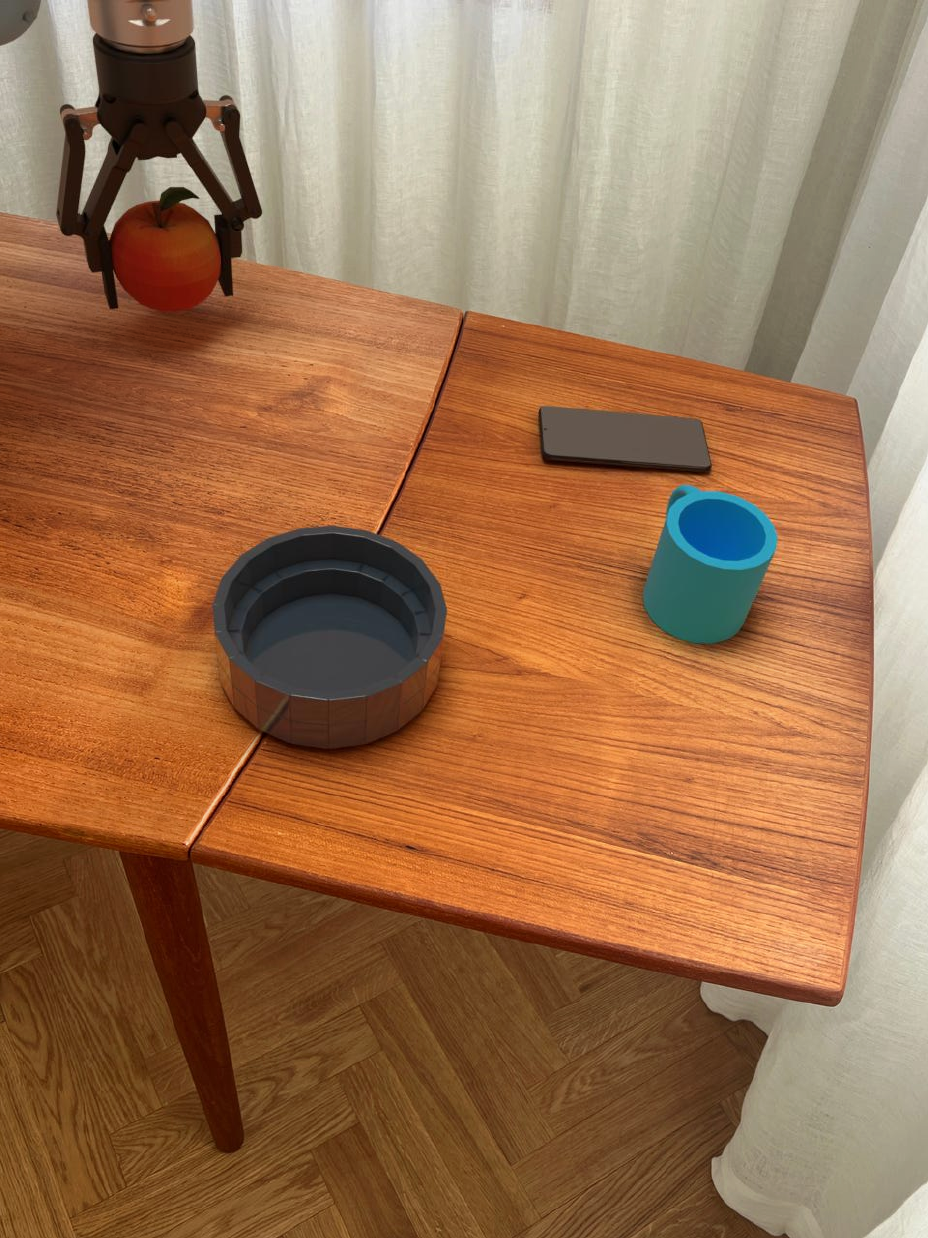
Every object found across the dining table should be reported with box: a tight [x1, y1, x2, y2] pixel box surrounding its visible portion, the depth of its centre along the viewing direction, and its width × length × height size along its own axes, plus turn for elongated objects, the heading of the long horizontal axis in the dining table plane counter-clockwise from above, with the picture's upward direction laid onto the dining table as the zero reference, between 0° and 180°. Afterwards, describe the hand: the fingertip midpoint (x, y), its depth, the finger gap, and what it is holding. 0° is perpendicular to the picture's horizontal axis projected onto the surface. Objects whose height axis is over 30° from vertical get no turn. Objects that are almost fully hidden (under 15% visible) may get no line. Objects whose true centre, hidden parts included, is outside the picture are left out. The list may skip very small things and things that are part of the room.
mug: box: [641, 484, 779, 645], centre depth 85 cm, size 12×8×8 cm
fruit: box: [108, 186, 221, 312], centre depth 97 cm, size 10×10×10 cm
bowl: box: [211, 525, 448, 750], centre depth 77 cm, size 16×16×6 cm
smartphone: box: [537, 405, 713, 473], centre depth 98 cm, size 7×1×15 cm
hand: (169, 293), depth 100 cm, fingers closed on fruit, 9 cm apart
